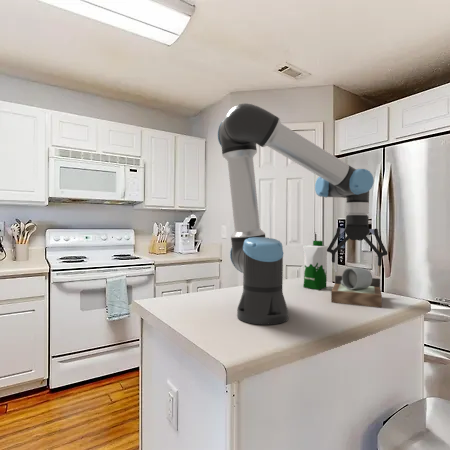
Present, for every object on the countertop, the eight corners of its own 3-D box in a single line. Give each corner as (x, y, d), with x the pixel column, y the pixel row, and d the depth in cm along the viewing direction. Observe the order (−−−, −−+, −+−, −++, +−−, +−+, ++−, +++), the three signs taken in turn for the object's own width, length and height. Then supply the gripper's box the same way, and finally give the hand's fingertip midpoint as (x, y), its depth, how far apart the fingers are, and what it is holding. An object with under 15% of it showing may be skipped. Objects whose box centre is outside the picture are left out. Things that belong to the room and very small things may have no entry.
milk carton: (329, 287, 138) (330, 241, 138) (318, 290, 132) (318, 242, 132) (311, 284, 145) (312, 240, 145) (300, 287, 139) (300, 241, 138)
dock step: (331, 302, 114) (331, 282, 114) (335, 292, 129) (335, 275, 128) (381, 307, 107) (381, 286, 107) (379, 296, 122) (380, 278, 122)
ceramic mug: (374, 289, 115) (374, 268, 115) (357, 291, 112) (357, 269, 112) (351, 284, 125) (351, 264, 125) (335, 286, 121) (335, 266, 121)
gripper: (395, 215, 115) (393, 274, 115) (322, 214, 125) (321, 269, 125) (397, 214, 108) (395, 277, 108) (320, 213, 118) (318, 271, 118)
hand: (355, 273), depth 117 cm, fingers open, 13 cm apart
